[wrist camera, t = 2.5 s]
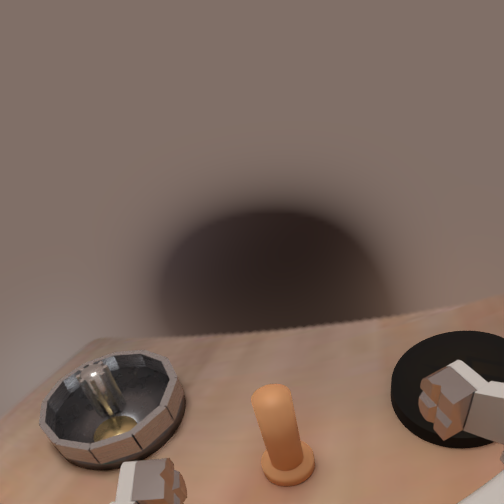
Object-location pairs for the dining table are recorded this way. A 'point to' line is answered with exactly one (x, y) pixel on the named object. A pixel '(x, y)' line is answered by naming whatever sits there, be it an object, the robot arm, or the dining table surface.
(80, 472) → the dining table surface
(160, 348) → the dining table surface
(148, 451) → the bowl
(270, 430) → the peg on round base
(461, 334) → the wireless charger
